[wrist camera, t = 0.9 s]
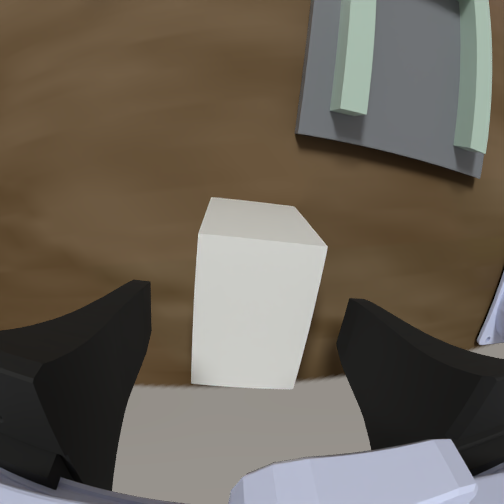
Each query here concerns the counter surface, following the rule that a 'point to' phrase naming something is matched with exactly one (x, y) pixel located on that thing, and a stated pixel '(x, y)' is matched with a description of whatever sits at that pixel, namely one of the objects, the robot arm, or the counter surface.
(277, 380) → the block
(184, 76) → the counter surface
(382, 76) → the frame
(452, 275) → the counter surface
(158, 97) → the counter surface
